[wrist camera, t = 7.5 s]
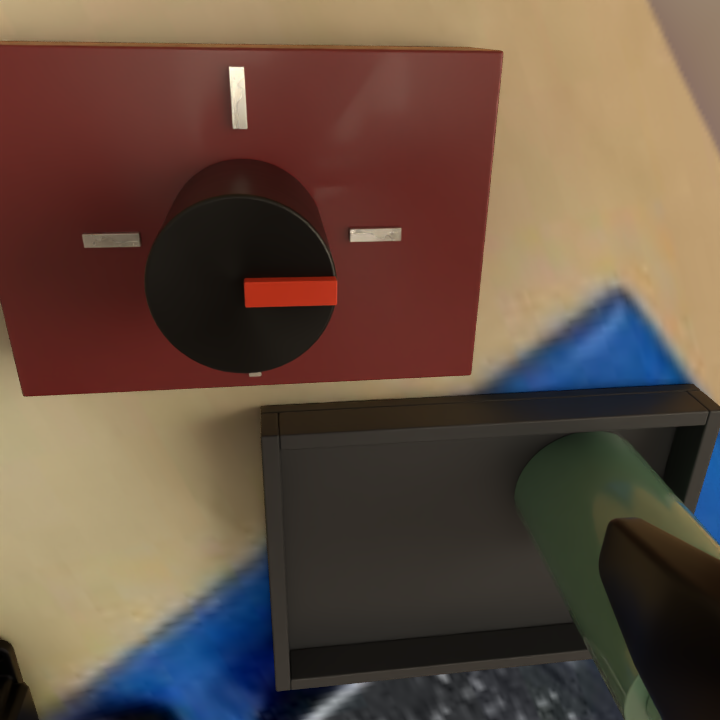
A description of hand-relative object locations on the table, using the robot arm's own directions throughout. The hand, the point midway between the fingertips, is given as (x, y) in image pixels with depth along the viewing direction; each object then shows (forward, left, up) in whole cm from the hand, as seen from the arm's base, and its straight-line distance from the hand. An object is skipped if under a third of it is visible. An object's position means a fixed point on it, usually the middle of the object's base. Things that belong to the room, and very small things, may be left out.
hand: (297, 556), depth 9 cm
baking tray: (+7, -11, -13) cm, 19 cm away
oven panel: (-1, +2, -13) cm, 13 cm away
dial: (-1, +2, -10) cm, 10 cm away
